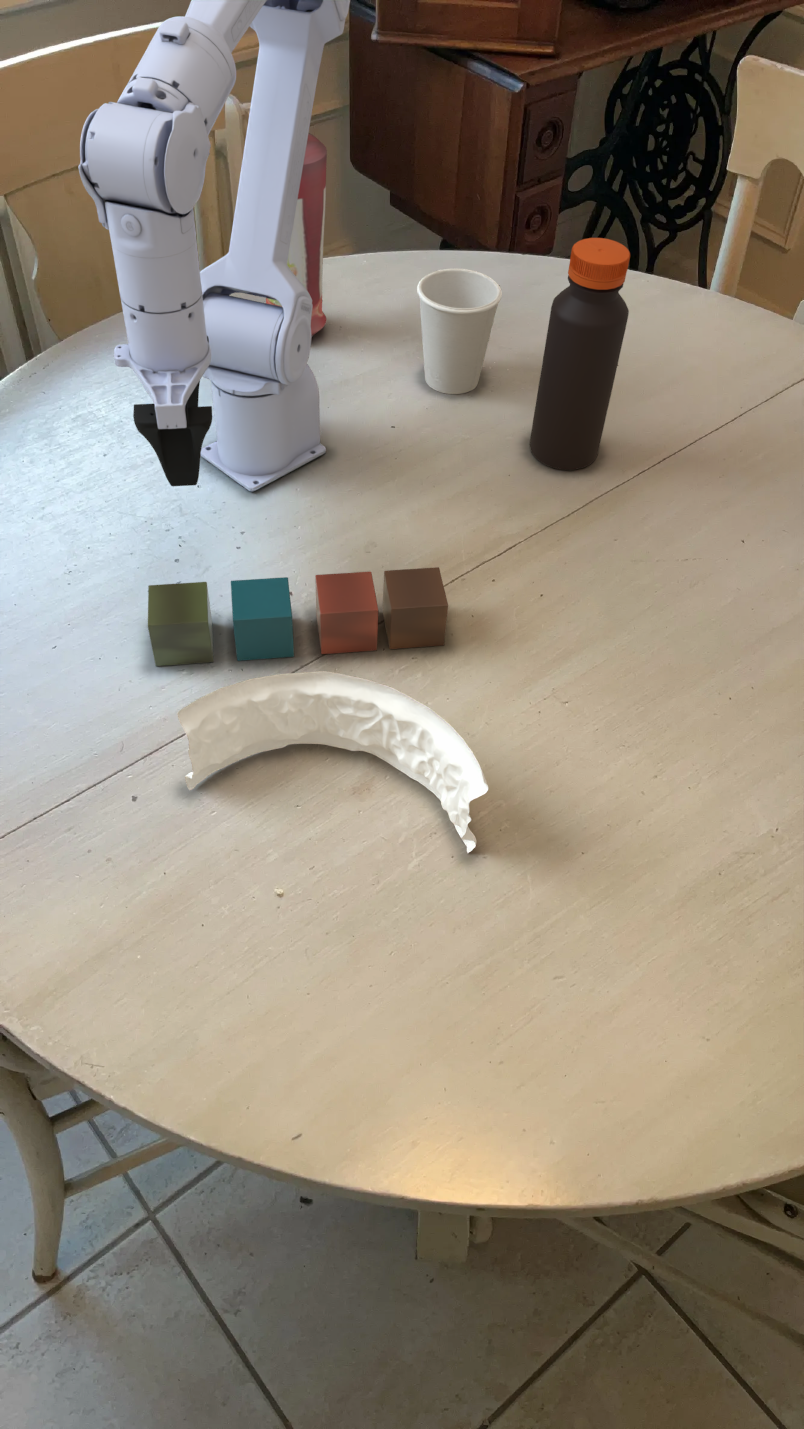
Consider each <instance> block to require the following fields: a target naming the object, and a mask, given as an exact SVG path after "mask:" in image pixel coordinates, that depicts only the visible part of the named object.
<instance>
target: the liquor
mask: <svg viewBox="0 0 804 1429" xmlns="http://www.w3.org/2000/svg"><path fill="white" fill-rule="evenodd" d="M327 156H328V149H327V146H326V145H325V144H324V143H323V142H322V141H321V140H320V139H319V138H317V137H316V136H315V135H314V134H312V133H310V132H309V133H308V139H307V145H306V151H305V157H304V163H303V169H302V175H301V181H300V187H299V193H298V199H297V205H296V211H295V217H294V223H293V230H292V236H291V242H290V248H289V254H288V260H287V265H288V267H289V268H290V270H291V271H292V272H293V274H294V275H295V276H296V277H297V278H298V280H299V281H300V282H301V283H302V284H303V286H304V287H305V288H306V290H307V291H308V293H309V294H310V296H311V298H312V305H313V307H312V315H311V338H312V337H313V336H315V335H316V334H317V333H318V332H320V331H321V330H323V329H324V327H325V325H326V323H327V316H326V315H325V312H324V310H323V270H324V268H323V267H324V266H323V265H324V239H325V218H326V197H327V196H326V195H327V193H326V192H327V158H328V157H327ZM265 303H266V304H271V305H276V306H280V307H282V305H281V304H280V302H279V301H278V300H273V299H269V298H265Z"/></svg>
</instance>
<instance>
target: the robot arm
mask: <svg viewBox="0 0 804 1429" xmlns="http://www.w3.org/2000/svg"><path fill="white" fill-rule="evenodd" d="M350 5H351V0H191V1H190V2H189V5H188V8H187V10H186V13H185V15H184V16H182V15H181V16H180V15H179V16H173V17H169V18H167V19H165V20H164V21H163V22H161V23H160V25H159V26H158V28H157V30H156V31H155V33H154V35H153V36H152V38H151V40H150V42H149V44H148V45H147V48H146V50H145V52H144V53H143V55H142V57H141V58H140V61H139V62H138V64H137V66H136V67H135V69H134V71H133V73H132V75H131V77H130V78H129V81H128V82H127V84H126V85H125V87H124V89H123V91H122V93H121V94H120V96H119V98H118V100H117V101H116V102H114V101H108V103H107V102H104V103H103V104H101V105H100V106H99V107H98V108H96V109H94V110H93V111H91V112H90V113H89V114H88V116H87V117H86V119H85V121H84V123H83V126H82V130H81V134H80V139H79V140H80V142H79V159H80V163H79V164H78V168H77V169H78V172H79V176H80V180H81V182H82V185H83V187H84V189H85V191H86V192H87V194H88V195H89V196H90V197H91V199H92V200H93V202H94V205H95V208H96V212H97V218H98V222H99V223H100V224H101V226H102V227H103V228H104V229H105V230H108V231H109V232H108V233H109V237H110V242H111V243H110V244H111V248H112V249H111V250H112V254H113V255H112V256H113V261H114V267H115V268H114V269H115V273H116V279H117V285H118V290H119V297H120V301H121V308H122V313H123V314H122V315H123V319H124V326H125V332H126V338H127V343H124V344H123V343H121V344H117V345H116V346H114V349H113V361H114V364H115V366H116V367H119V368H130V369H131V371H132V372H133V373H134V375H135V376H136V378H137V379H138V381H139V383H140V384H141V386H142V387H143V388H144V390H145V391H146V393H147V394H148V396H149V398H150V399H151V401H152V403H141V404H140V403H137V404H136V403H135V404H133V414H132V417H133V423H134V426H135V428H136V430H137V431H138V433H139V434H140V435H142V436H143V438H144V439H146V441H147V442H148V443H149V445H150V446H151V448H152V449H153V451H154V453H155V455H156V456H157V457H156V458H157V459H158V461H159V464H160V466H161V469H162V471H163V473H164V475H165V478H166V480H167V481H168V484H169V485H170V486H171V487H185V486H186V487H187V486H189V487H190V486H196V485H198V482H199V476H200V468H201V458H203V459H204V460H206V461H207V462H208V463H210V464H211V465H213V466H214V467H215V468H217V469H218V470H220V472H222V473H224V474H225V475H226V476H228V477H229V478H231V479H232V480H233V481H235V482H236V483H238V484H239V485H240V486H242V487H243V488H244V489H246V490H247V491H249V492H255V491H257V490H259V489H261V488H263V487H265V486H267V485H268V484H270V483H272V482H274V481H276V480H278V479H280V478H281V477H283V476H286V475H287V474H289V473H290V472H291V473H292V472H293V471H295V470H297V469H298V468H300V467H302V466H304V465H306V464H308V463H310V462H311V461H314V460H315V459H317V458H319V457H320V456H323V455H324V454H326V452H327V448H326V446H324V445H323V444H321V417H320V416H321V414H320V410H321V408H320V389H319V385H318V382H317V379H316V376H315V373H314V372H313V370H312V368H311V367H310V365H309V364H308V361H309V358H310V353H311V348H312V337H311V315H312V307H313V305H312V298H311V296H310V294H309V293H308V291H307V290H306V288H305V287H304V286H303V284H302V283H301V282H300V281H299V280H298V278H297V277H296V276H295V275H294V274H293V272H292V271H291V270H290V268H289V267H288V265H287V260H288V254H289V248H290V242H291V236H292V230H293V223H294V217H295V211H296V205H297V199H298V193H299V187H300V181H301V175H302V169H303V163H304V157H305V151H306V145H307V139H308V133H310V127H311V121H312V115H313V107H314V102H315V96H316V91H317V84H318V78H319V75H320V74H319V73H320V67H321V62H322V58H323V52H324V47H325V44H326V43H329V42H330V41H332V40H335V39H336V38H338V37H339V36H341V35H343V33H344V30H345V23H346V20H347V17H348V14H349V10H350ZM249 28H250V29H252V30H253V31H255V33H256V36H257V39H258V43H259V44H258V45H259V47H258V54H257V60H256V67H255V73H254V74H255V75H254V81H253V87H252V94H251V100H250V107H249V112H248V113H249V115H248V121H247V126H246V133H245V141H244V147H243V152H242V153H243V154H242V160H241V166H240V167H241V169H240V174H239V181H238V187H237V193H236V201H235V207H234V214H233V219H232V220H233V222H232V227H231V235H230V240H229V247H228V252H227V253H226V254H225V255H223V256H221V257H220V258H219V259H217V260H215V261H213V262H212V263H210V265H208V266H206V267H204V268H203V269H202V270H200V260H199V253H198V242H197V233H196V232H197V231H196V223H195V212H194V207H195V206H196V204H197V202H198V201H200V198H201V196H202V191H203V187H204V183H205V178H206V177H205V176H206V167H207V161H208V158H209V156H210V154H211V153H210V152H211V151H210V150H211V147H212V143H211V141H210V138H209V137H210V136H209V135H210V133H211V132H212V129H213V127H214V125H215V123H216V122H217V119H218V117H219V115H220V114H221V112H222V110H223V108H224V106H225V104H226V102H227V100H228V98H229V96H230V94H231V92H232V90H233V88H234V86H235V84H236V81H237V67H236V62H235V59H234V55H233V51H234V50H235V49H236V47H237V46H238V44H239V42H241V39H242V38H243V36H244V35H245V33H246V32H247V31H248V29H249ZM235 293H237V294H238V293H239V294H244V295H245V294H246V295H251V296H255V297H260V298H264V299H266V298H269V299H273V300H278V301H279V302H280V304H281V305H282V307H280V306H276V305H271V304H266V302H261V301H257V300H251V299H247V298H243V297H238V296H233V295H232V294H235ZM202 378H204V379H207V380H209V381H210V387H211V388H210V389H211V397H212V406H211V405H208V406H207V405H206V406H205V405H204V406H199V393H200V384H201V379H202ZM213 416H214V417H213ZM213 418H214V426H215V435H216V441H214V442H211V443H209V444H208V445H205V446H204V447H202V446H203V443H204V440H205V438H206V435H207V433H208V432H209V431H210V428H211V425H212V422H213Z"/></svg>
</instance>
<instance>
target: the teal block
mask: <svg viewBox="0 0 804 1429" xmlns="http://www.w3.org/2000/svg"><path fill="white" fill-rule="evenodd" d="M230 592H231V594H230V595H231V610H232V611H231V612H232V625H233V626H232V627H233V634H234V644H235V654H236V661H238V662H239V661H252V660H254V661H255V660H266V659H267V660H269V659H281V658H294V657H295V647H294V646H295V645H294V627H293V626H294V624H293V611H292V602H291V593H290V592H291V591H290V583H289V577H287V576H285V577H284V576H283V577H270V578H269V577H268V578H254V579H234V580H231V581H230Z"/></svg>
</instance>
